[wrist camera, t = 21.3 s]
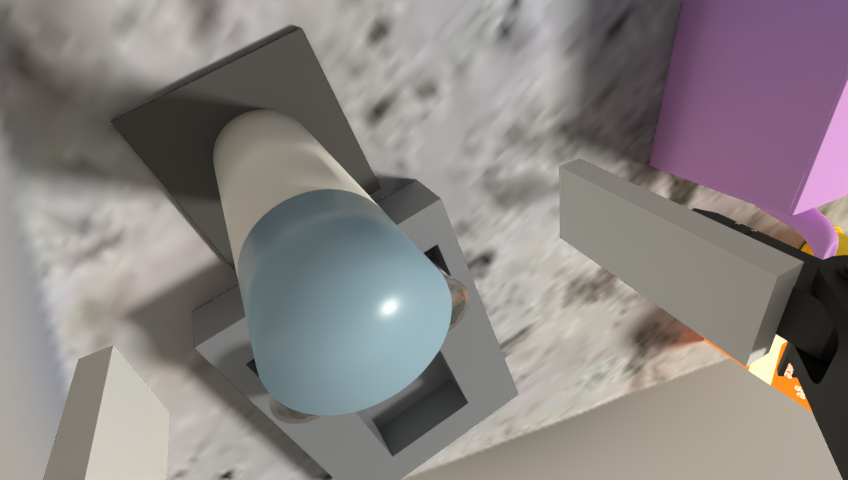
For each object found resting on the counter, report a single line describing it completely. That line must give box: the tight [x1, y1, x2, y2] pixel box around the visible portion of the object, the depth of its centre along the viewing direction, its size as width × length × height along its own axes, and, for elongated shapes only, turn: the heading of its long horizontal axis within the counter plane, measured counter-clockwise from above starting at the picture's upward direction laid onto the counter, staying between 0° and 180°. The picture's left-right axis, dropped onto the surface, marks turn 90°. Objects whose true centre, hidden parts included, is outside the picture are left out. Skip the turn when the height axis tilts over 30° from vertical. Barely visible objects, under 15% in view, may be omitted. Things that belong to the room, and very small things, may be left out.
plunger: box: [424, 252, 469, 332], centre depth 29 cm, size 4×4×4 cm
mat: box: [111, 28, 380, 271], centre depth 25 cm, size 10×10×1 cm
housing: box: [193, 180, 518, 480], centre depth 33 cm, size 22×16×4 cm
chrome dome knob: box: [268, 393, 323, 424], centre depth 27 cm, size 4×4×4 cm
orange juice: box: [704, 335, 812, 412], centre depth 51 cm, size 8×9×20 cm
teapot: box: [648, 0, 848, 260], centre depth 34 cm, size 15×25×14 cm, turn 4°
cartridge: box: [213, 109, 452, 416], centre depth 18 cm, size 5×5×16 cm
